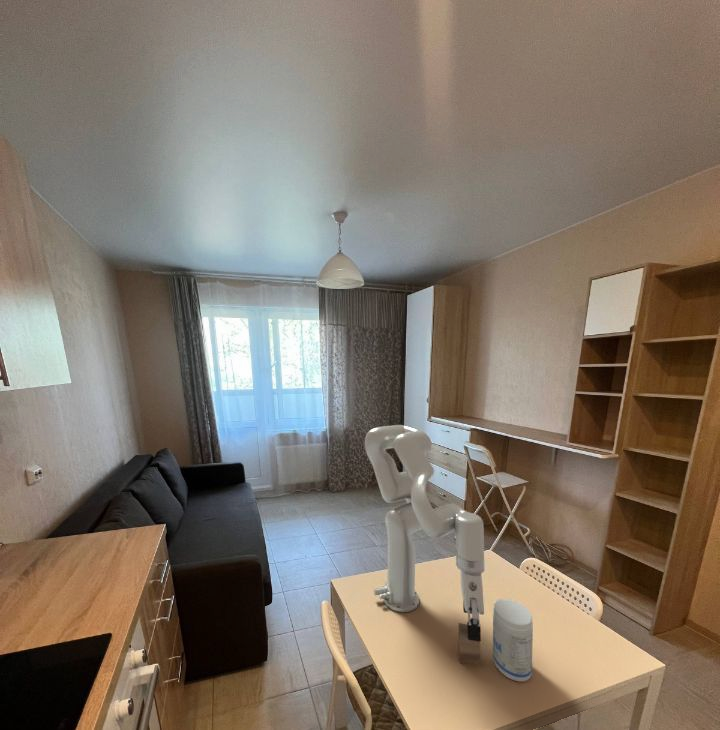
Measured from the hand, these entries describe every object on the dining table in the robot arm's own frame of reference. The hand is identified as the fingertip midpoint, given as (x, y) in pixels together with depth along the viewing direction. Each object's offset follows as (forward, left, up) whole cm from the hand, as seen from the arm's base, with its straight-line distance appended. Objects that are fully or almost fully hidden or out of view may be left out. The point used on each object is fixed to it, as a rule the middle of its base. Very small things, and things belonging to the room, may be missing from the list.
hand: (471, 625), depth 84 cm
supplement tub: (+10, -4, -9) cm, 14 cm away
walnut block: (0, +1, -9) cm, 9 cm away
